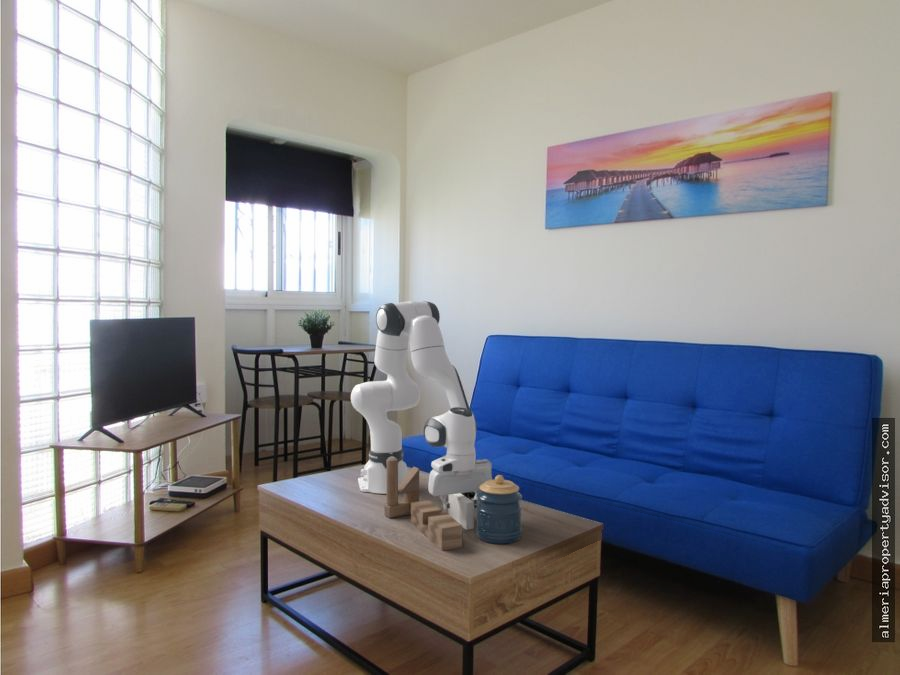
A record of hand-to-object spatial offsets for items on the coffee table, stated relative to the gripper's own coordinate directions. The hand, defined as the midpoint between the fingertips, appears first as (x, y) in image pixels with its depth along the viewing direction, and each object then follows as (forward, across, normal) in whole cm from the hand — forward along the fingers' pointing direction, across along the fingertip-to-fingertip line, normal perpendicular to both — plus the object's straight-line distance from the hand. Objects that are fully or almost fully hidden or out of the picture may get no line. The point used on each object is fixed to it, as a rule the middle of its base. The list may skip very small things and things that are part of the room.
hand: (460, 506), depth 188 cm
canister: (+5, -5, +15) cm, 16 cm away
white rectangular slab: (+5, 0, 0) cm, 5 cm away
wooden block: (+5, +14, -14) cm, 20 cm away
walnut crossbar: (+5, +11, +6) cm, 13 cm away
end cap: (+5, -13, -15) cm, 21 cm away
